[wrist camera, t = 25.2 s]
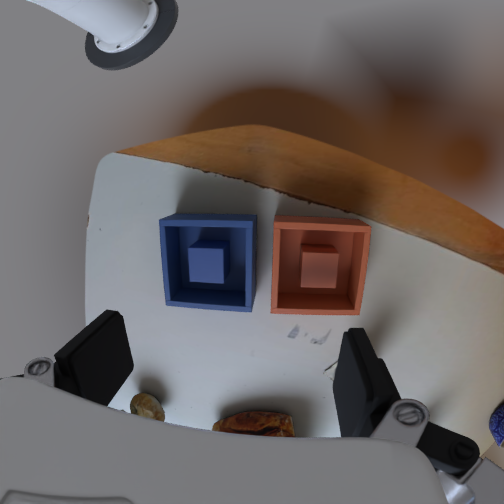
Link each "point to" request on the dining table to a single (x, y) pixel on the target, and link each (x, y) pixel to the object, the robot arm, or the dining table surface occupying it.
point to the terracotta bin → (349, 267)
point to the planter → (498, 426)
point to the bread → (257, 424)
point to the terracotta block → (318, 265)
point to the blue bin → (241, 260)
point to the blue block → (209, 261)
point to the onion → (147, 407)
